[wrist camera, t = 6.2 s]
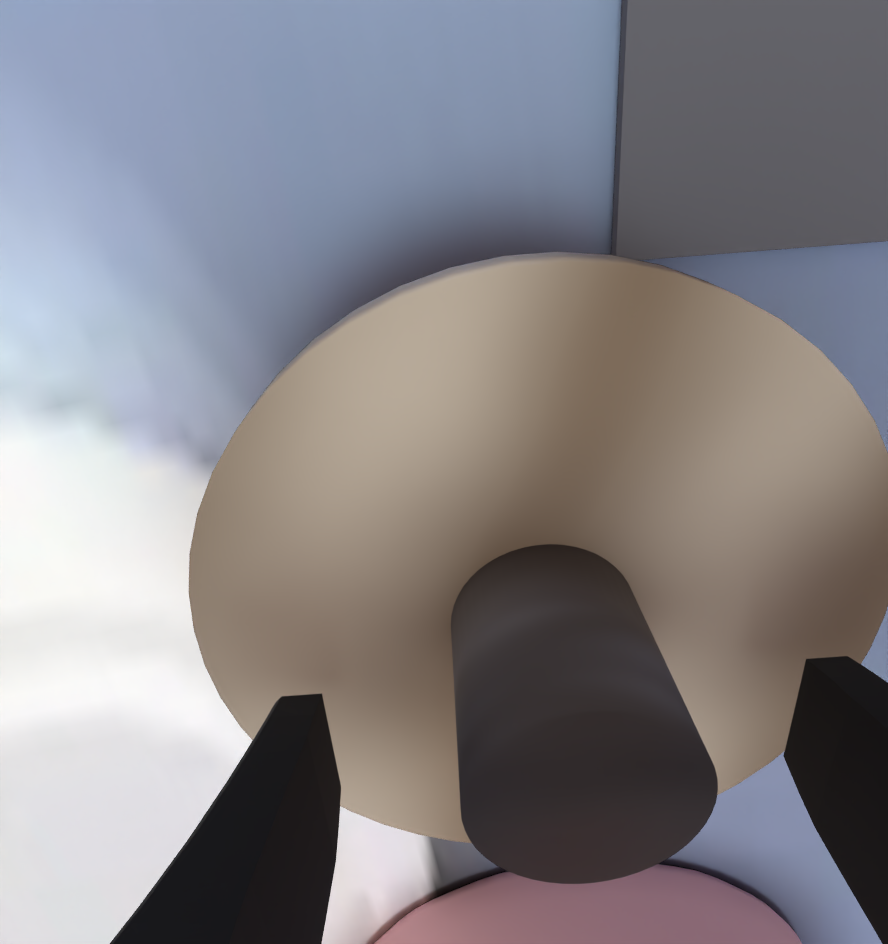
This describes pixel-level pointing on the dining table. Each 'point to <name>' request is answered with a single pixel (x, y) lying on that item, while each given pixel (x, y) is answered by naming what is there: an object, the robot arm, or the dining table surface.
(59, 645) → the dining table surface
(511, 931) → the cake
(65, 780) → the dining table surface
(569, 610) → the lid
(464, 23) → the dining table surface
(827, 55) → the mat
